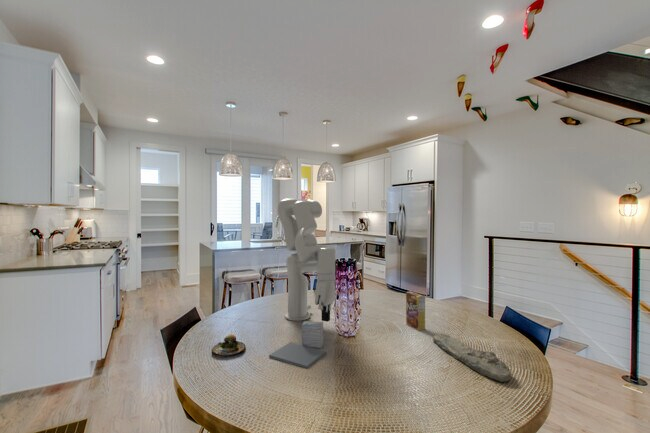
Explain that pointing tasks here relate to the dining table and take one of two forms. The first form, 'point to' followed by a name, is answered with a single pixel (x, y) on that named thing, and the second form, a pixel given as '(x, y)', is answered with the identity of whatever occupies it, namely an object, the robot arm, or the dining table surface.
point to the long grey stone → (474, 358)
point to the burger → (229, 346)
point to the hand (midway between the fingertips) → (325, 320)
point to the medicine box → (312, 334)
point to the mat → (298, 354)
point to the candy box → (415, 310)
